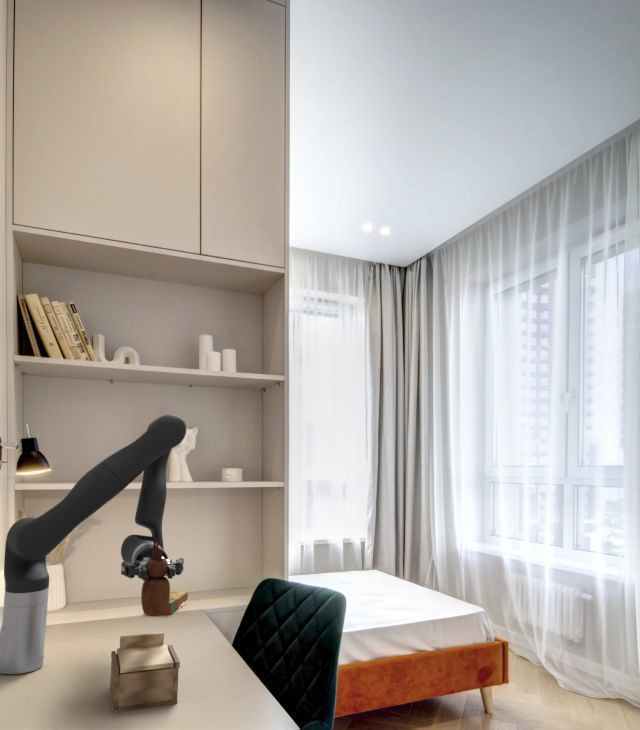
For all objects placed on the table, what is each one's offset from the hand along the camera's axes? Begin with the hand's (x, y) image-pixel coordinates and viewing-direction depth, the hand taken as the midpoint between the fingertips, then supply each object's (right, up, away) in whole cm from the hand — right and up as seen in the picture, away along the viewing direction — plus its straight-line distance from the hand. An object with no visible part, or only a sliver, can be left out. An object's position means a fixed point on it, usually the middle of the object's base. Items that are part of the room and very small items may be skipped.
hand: (158, 574), depth 123 cm
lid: (-2, -17, -1) cm, 17 cm away
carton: (-15, -35, +67) cm, 77 cm away
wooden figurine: (-1, -9, +1) cm, 9 cm away
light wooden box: (-2, -24, -3) cm, 24 cm away
